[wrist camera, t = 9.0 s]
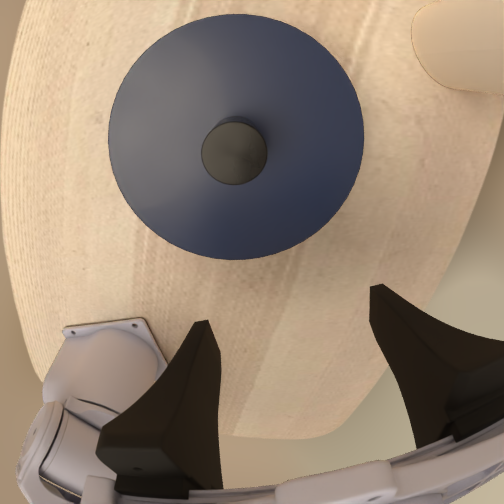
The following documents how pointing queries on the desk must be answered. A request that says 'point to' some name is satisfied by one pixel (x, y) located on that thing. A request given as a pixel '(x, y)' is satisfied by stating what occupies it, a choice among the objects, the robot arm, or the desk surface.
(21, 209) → the desk surface
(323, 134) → the tin lid
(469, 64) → the cylindrical container
